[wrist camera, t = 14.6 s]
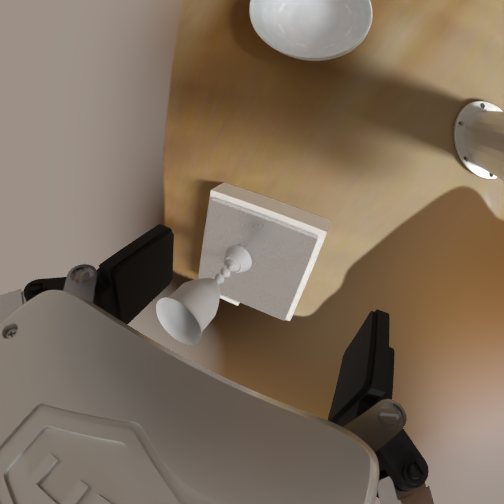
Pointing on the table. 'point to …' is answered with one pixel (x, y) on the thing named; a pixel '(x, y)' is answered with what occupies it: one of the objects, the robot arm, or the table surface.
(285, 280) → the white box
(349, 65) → the table surface
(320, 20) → the cereal bowl
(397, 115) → the table surface
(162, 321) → the chalice
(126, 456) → the robot arm
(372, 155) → the table surface
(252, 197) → the base
